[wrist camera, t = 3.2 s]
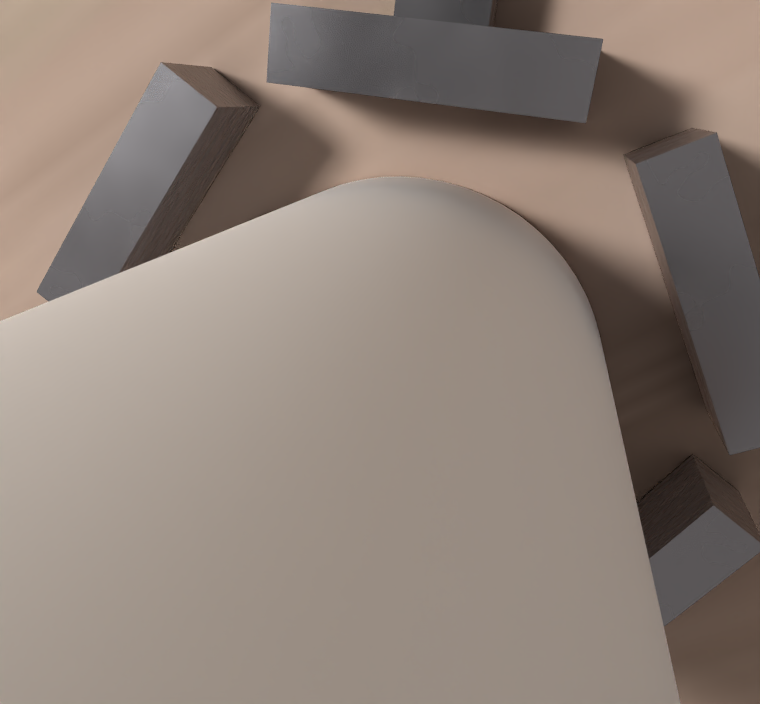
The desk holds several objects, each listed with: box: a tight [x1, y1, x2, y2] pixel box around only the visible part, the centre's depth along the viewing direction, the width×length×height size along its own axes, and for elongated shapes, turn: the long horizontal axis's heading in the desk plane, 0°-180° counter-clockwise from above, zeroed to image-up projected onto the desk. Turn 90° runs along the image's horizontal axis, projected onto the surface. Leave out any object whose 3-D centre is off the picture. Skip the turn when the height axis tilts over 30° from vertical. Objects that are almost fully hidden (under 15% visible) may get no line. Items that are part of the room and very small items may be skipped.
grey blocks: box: [37, 0, 760, 626], centre depth 14 cm, size 17×14×2 cm
